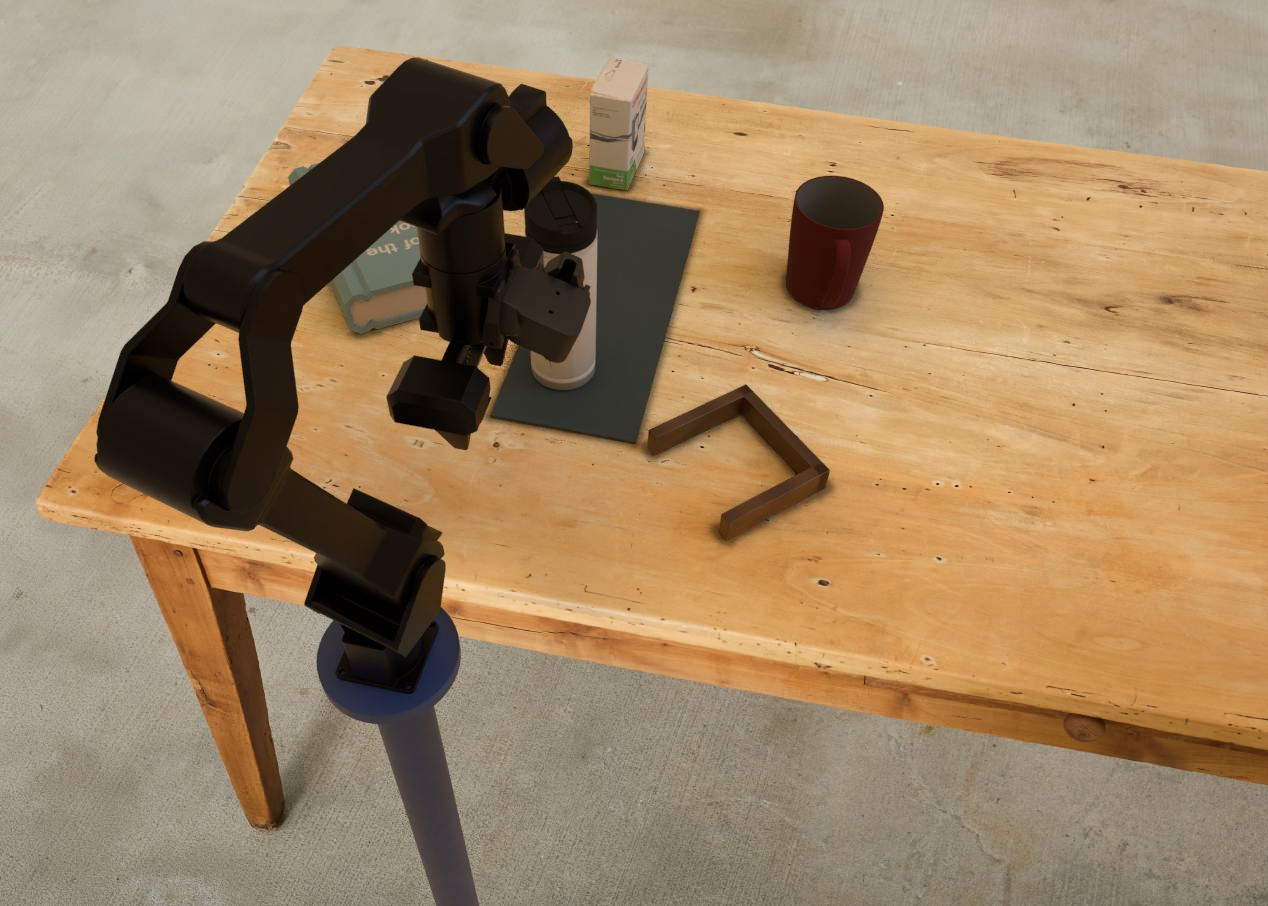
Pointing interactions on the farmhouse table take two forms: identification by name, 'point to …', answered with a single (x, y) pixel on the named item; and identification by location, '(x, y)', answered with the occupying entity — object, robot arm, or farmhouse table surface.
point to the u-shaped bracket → (772, 430)
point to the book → (379, 279)
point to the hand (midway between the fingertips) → (479, 404)
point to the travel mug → (571, 226)
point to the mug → (830, 239)
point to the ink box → (617, 123)
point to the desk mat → (614, 325)
